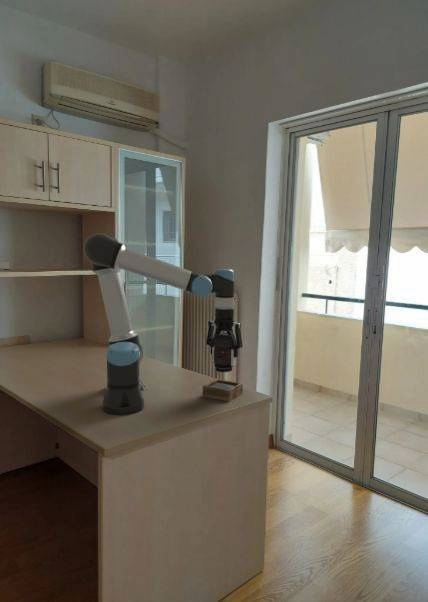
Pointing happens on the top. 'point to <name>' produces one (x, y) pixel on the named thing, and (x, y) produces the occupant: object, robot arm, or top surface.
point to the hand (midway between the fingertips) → (223, 363)
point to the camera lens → (223, 352)
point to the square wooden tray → (222, 390)
